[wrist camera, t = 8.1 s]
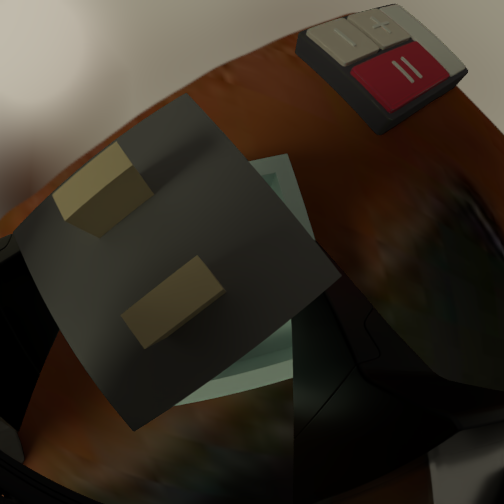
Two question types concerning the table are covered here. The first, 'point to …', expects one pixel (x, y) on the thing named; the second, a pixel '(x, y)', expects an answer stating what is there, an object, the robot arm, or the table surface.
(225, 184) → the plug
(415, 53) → the calculator
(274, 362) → the walled box
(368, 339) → the robot arm
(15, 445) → the coffeepot
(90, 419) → the table surface
